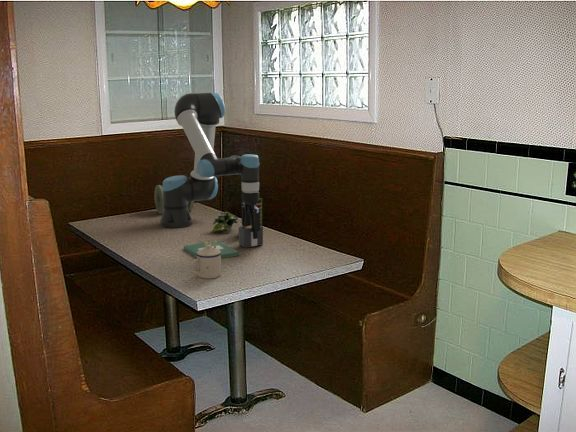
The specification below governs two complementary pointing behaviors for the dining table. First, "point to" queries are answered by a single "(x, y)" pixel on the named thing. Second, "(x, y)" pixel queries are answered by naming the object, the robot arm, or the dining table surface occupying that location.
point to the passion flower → (224, 221)
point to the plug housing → (249, 236)
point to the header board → (224, 249)
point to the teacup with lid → (208, 262)
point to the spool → (159, 200)
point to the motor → (259, 205)
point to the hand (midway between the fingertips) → (251, 243)
